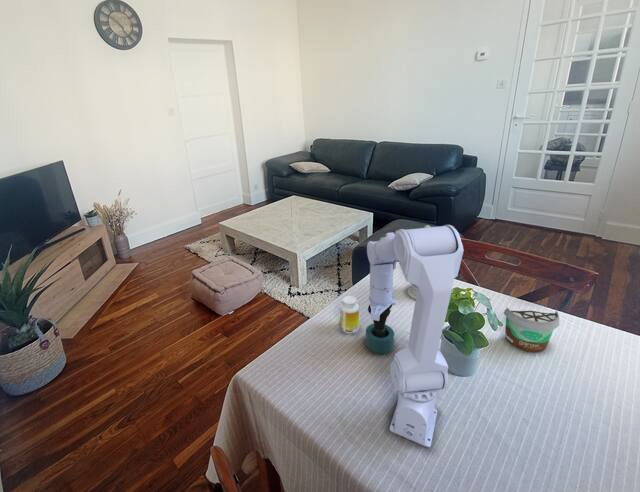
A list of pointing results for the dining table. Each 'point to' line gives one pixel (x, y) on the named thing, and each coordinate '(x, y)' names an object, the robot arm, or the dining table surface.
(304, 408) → the dining table surface
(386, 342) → the teal ring pot
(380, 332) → the brush
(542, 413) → the dining table surface
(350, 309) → the supplement bottle
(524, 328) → the food container
